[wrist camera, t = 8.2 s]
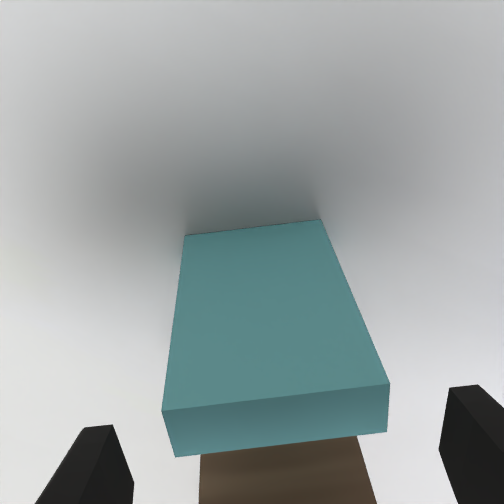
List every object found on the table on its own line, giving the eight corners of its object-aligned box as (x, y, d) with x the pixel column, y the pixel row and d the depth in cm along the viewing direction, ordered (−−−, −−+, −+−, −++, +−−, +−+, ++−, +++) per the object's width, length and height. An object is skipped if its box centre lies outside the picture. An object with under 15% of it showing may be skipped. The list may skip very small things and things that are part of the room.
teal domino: (184, 235, 17) (161, 410, 10) (320, 219, 17) (390, 383, 10) (192, 272, 18) (175, 456, 11) (322, 256, 18) (387, 431, 11)
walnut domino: (205, 338, 19) (197, 535, 13) (323, 325, 20) (380, 514, 13) (210, 366, 20) (205, 565, 13) (324, 354, 20) (377, 546, 13)
